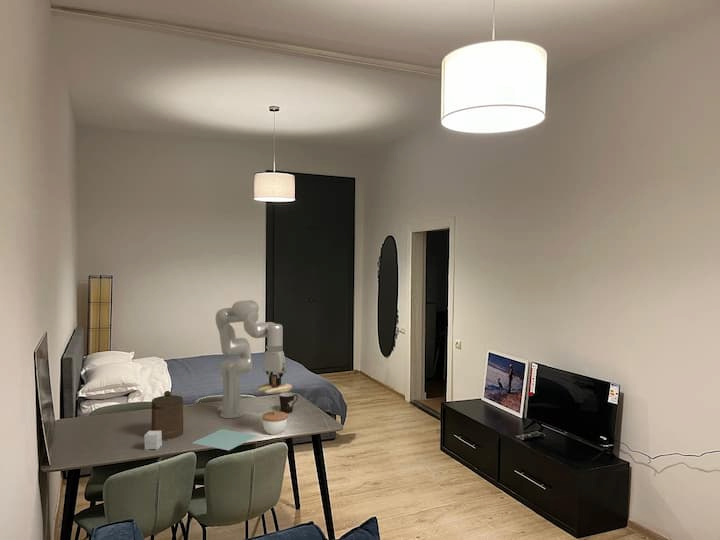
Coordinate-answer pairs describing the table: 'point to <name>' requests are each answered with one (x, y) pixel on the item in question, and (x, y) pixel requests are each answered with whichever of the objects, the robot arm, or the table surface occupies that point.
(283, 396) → the coffee mug
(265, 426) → the lidded bowl
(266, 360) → the robot arm
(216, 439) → the rubber mat
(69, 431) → the table surface
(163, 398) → the wooden container
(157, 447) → the skincare box
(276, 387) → the maple lid
